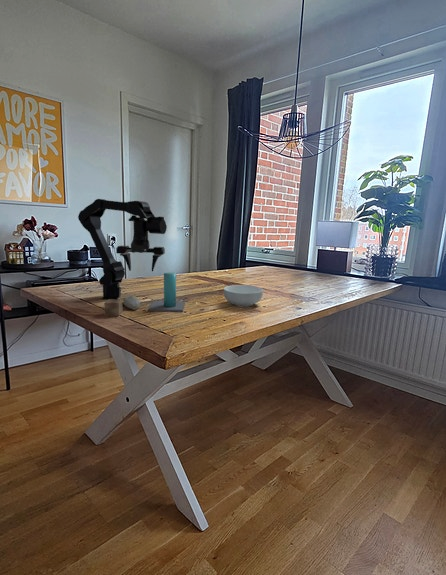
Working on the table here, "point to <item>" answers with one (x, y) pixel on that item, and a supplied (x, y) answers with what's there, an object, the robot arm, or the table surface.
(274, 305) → the table surface
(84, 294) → the table surface
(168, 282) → the teal tall cylinder
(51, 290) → the table surface
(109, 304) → the walnut block
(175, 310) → the charcoal mat
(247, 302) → the cereal bowl
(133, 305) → the decorative stone
